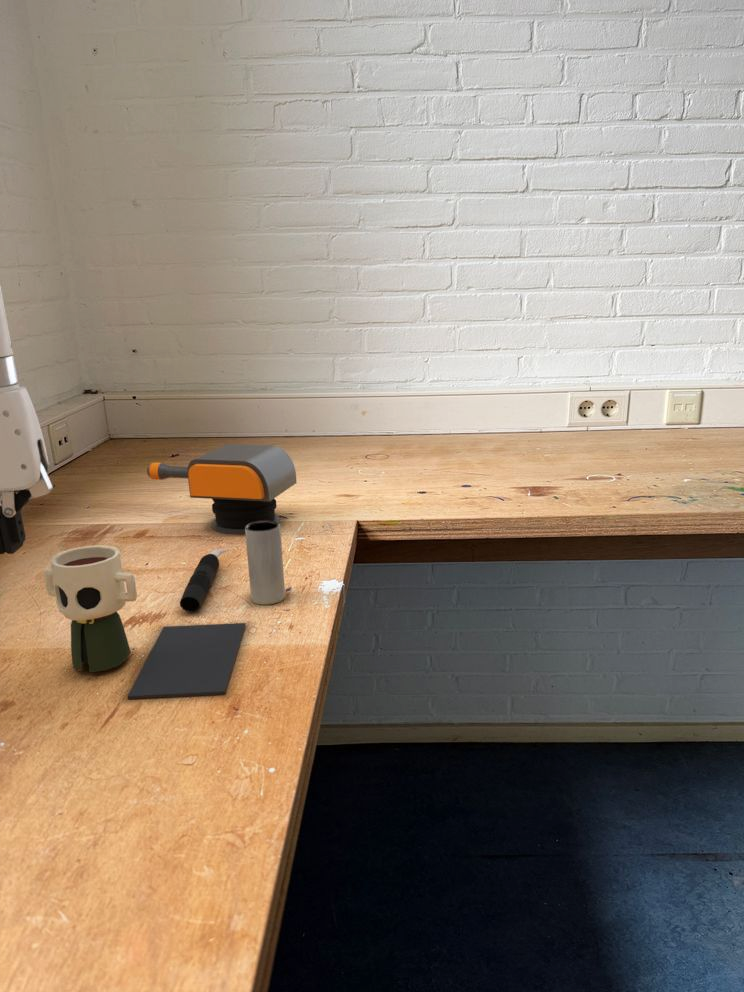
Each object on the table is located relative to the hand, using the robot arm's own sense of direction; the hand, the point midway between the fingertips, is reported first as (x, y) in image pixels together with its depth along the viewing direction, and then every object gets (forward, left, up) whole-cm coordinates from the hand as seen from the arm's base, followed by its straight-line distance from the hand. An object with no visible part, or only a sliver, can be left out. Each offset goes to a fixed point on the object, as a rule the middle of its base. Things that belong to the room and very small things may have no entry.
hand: (10, 549), depth 85 cm
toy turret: (+13, +53, -14) cm, 56 cm away
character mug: (+8, 0, -14) cm, 16 cm away
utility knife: (+16, +23, -14) cm, 31 cm away
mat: (+18, 0, -14) cm, 23 cm away
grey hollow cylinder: (+25, +17, -14) cm, 33 cm away
